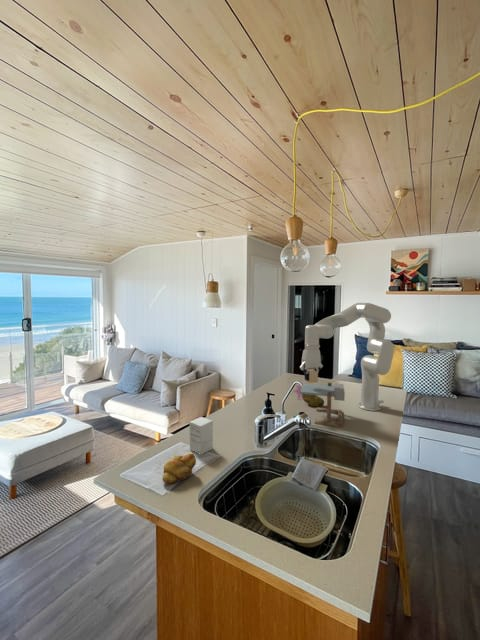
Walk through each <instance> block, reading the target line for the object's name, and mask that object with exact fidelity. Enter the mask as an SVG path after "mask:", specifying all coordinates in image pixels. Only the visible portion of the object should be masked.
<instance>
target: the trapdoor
mask: <svg viewBox="0 0 480 640" xmlns="http://www.w3.org/2000/svg"><path fill="white" fill-rule="evenodd" d="M302 385H303V386H302ZM302 385H301V386H302V389H301V392H300V394H310V395H317V396H323V397H327V392H332V393H331V398H332V397H333V400H334V401H340V402H341V401H343V402H345V396H346V395H345V393H346V392H345V385H344V384H343V383H333V385H331V386H328V385H321V384H312V383H307V384H304V383H303V384H302Z"/></svg>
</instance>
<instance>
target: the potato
mask: <svg viewBox="0 0 480 640" xmlns="http://www.w3.org/2000/svg"><path fill="white" fill-rule="evenodd" d="M301 399H302V400H303V401H304V402H305V403H306V404H308V405H310V406H312V407H322V406H324V404H325V401H324V398H322V397H320V395H310V394H302V398H301Z"/></svg>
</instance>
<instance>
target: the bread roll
mask: <svg viewBox="0 0 480 640" xmlns="http://www.w3.org/2000/svg"><path fill="white" fill-rule="evenodd" d="M196 464H197V459H196V456H195V454H194V453H187V454H185V455H175V456H174V457H172V458H171V460H169V461H166V462H164V465H163V474H162V482H163V483H164V484H165V485H172V484H171V483H173V484H175V483H177V482H178V481H183V480H186V479H187V478H189V476H191V475H192V472H193V468H194V467H195V466H196Z"/></svg>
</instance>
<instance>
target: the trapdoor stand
mask: <svg viewBox="0 0 480 640" xmlns="http://www.w3.org/2000/svg"><path fill="white" fill-rule="evenodd" d="M327 386H332V382H327ZM331 393H332V392H327V396H326V397H327V398H326V402H327V403H326V408H324V407H319V406H316V412H323V413H326V419H317V418H316V419H314V425H324V426H331V427H332V426H333V427H341V428H343V427H344V423H343V421H344V420H343V413H342V412H343V411H342V409H337V408H336V409H335V408H332V396H331ZM332 414H337V417H338V419H337V420H338V421H334V420H332Z"/></svg>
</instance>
